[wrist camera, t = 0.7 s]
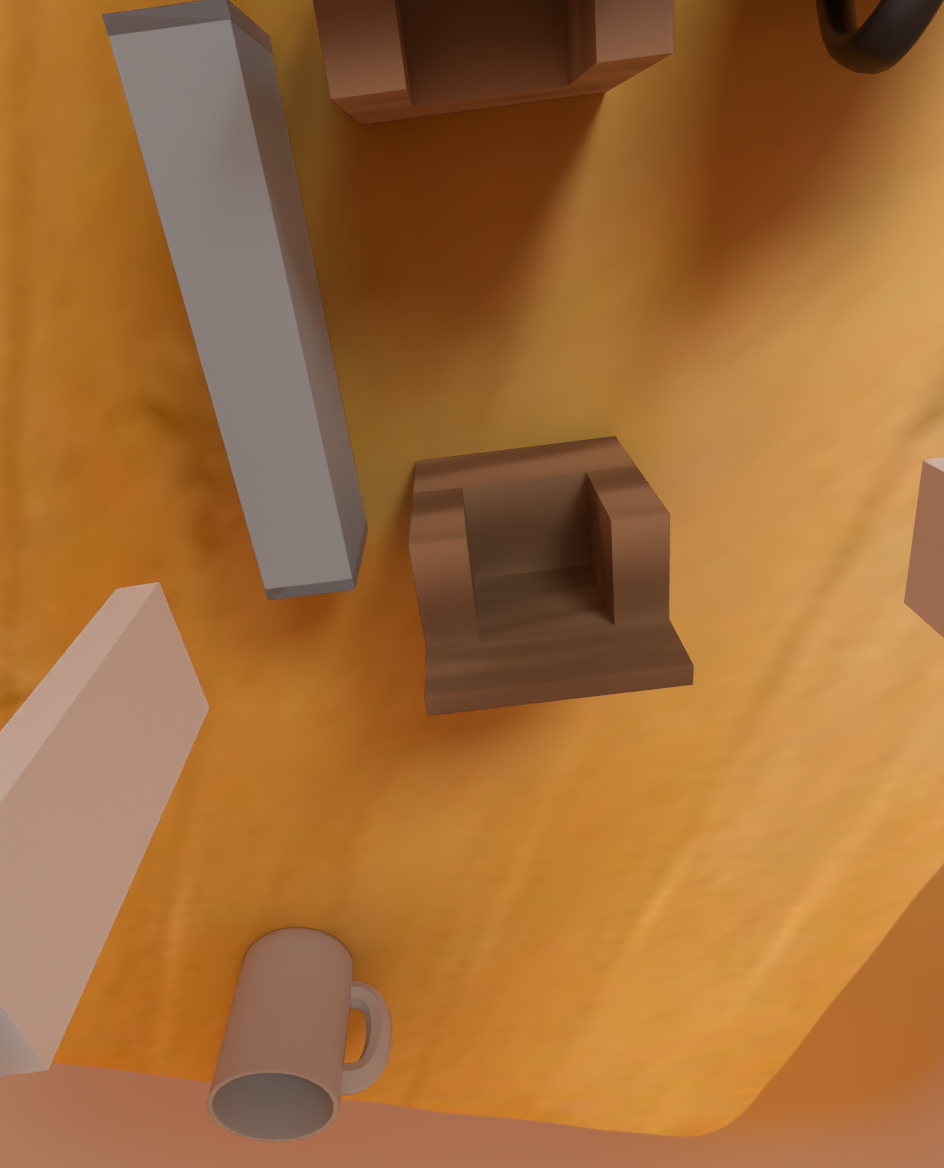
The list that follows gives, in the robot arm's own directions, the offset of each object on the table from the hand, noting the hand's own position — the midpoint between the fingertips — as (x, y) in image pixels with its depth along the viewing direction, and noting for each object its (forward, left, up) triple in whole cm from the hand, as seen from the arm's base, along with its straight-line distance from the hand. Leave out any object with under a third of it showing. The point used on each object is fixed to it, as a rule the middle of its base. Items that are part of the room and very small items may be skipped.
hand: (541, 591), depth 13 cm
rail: (-2, -8, -21) cm, 22 cm away
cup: (+38, -15, -21) cm, 46 cm away
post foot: (+7, +1, -21) cm, 22 cm away
